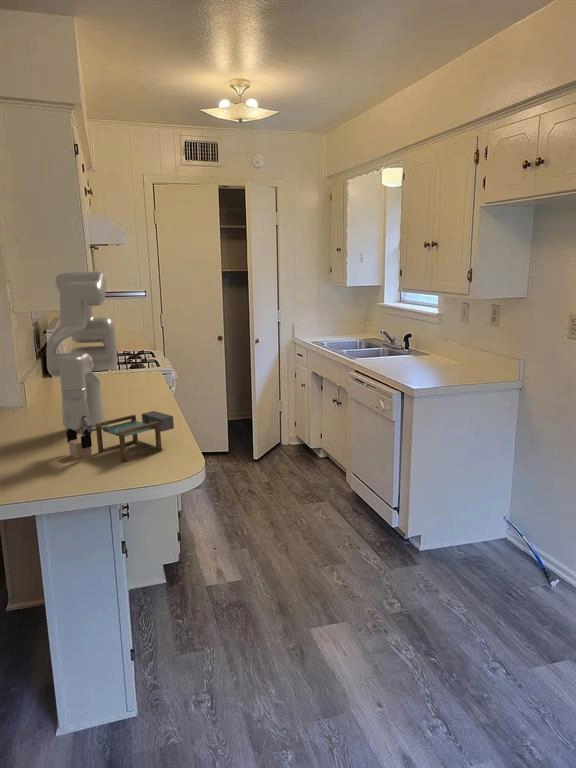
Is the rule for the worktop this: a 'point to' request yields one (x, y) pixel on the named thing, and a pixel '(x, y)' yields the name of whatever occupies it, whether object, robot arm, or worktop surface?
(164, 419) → the chair seat and backrest
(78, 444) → the pinkish beige cube
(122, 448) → the frame
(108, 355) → the robot arm
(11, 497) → the worktop surface
